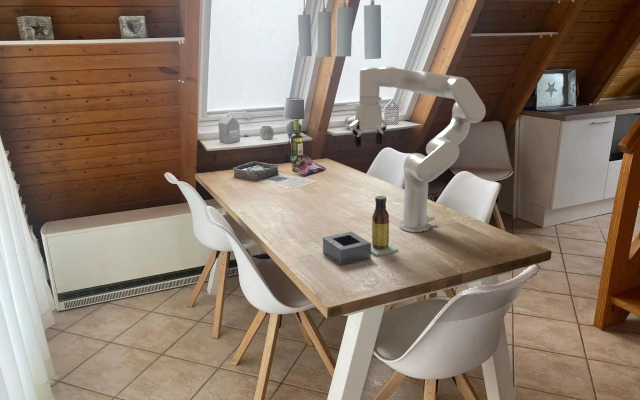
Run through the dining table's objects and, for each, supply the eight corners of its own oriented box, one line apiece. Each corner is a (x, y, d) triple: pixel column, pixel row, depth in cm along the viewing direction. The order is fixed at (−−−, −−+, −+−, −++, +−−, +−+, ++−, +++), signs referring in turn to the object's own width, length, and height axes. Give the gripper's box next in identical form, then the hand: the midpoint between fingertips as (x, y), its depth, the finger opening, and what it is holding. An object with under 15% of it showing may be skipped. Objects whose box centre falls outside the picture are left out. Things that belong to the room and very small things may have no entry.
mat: (382, 242, 191) (382, 240, 191) (398, 251, 183) (398, 249, 183) (361, 247, 187) (361, 245, 187) (376, 256, 179) (376, 254, 178)
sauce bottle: (377, 242, 189) (379, 193, 183) (391, 246, 185) (393, 196, 179) (368, 247, 184) (369, 197, 178) (382, 251, 181) (383, 200, 175)
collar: (351, 246, 188) (351, 231, 186) (370, 258, 177) (371, 243, 175) (323, 252, 183) (322, 237, 181) (341, 265, 171) (341, 250, 169)
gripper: (382, 98, 194) (381, 141, 199) (344, 101, 186) (344, 145, 191) (393, 100, 187) (392, 144, 193) (355, 103, 180) (354, 149, 185)
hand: (368, 145), depth 192 cm, fingers open, 9 cm apart
